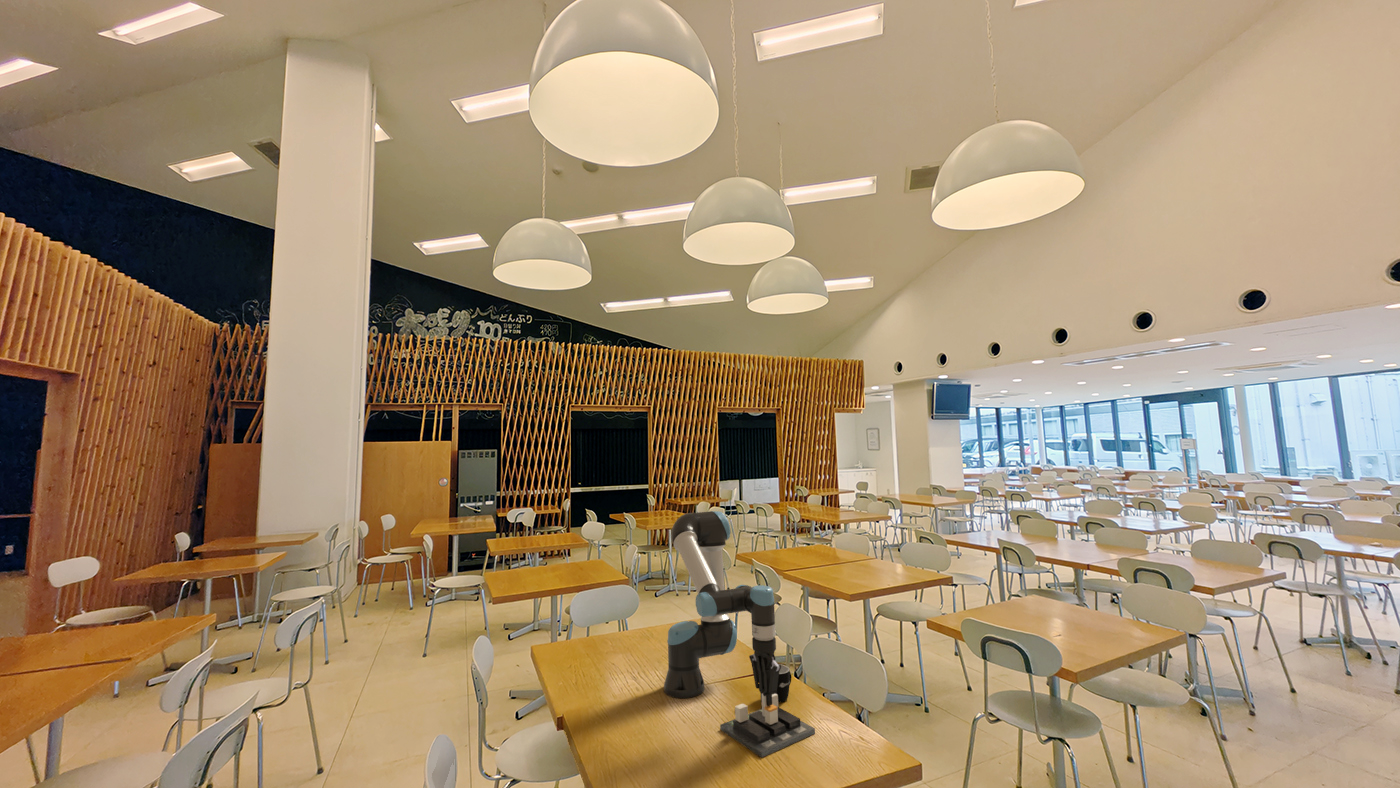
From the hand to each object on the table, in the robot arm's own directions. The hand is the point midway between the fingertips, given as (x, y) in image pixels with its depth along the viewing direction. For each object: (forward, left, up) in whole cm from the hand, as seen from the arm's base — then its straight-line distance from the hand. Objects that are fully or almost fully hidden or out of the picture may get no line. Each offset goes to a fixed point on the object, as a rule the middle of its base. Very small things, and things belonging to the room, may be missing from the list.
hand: (767, 714), depth 168 cm
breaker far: (-5, +7, -1) cm, 8 cm away
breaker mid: (+2, 0, -1) cm, 2 cm away
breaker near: (-5, -6, -1) cm, 8 cm away
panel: (0, 0, -5) cm, 5 cm away
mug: (-15, +20, -5) cm, 26 cm away
